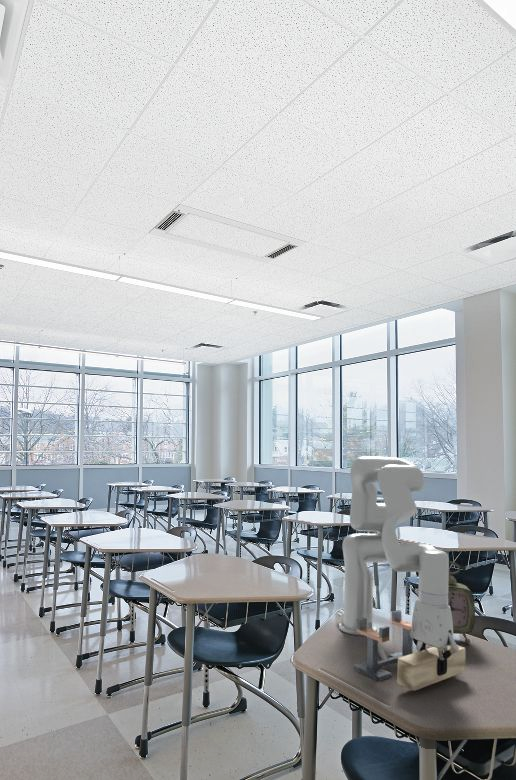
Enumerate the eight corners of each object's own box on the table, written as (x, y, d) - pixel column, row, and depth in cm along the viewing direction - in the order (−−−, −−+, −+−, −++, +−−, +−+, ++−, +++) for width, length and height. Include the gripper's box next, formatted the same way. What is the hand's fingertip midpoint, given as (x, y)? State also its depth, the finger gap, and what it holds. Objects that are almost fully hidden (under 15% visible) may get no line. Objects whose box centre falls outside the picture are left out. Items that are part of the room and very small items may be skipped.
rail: (397, 683, 135) (397, 658, 135) (448, 664, 148) (449, 642, 148) (413, 690, 131) (414, 665, 131) (465, 671, 144) (465, 648, 144)
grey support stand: (353, 669, 147) (354, 619, 149) (400, 655, 159) (400, 609, 161) (378, 681, 140) (379, 629, 142) (425, 665, 152) (426, 617, 153)
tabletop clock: (427, 642, 171) (428, 562, 174) (423, 633, 180) (423, 556, 183) (475, 646, 169) (474, 565, 172) (468, 637, 178) (468, 559, 181)
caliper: (366, 640, 171) (366, 620, 172) (369, 640, 171) (370, 620, 172) (385, 666, 151) (386, 643, 152) (389, 666, 151) (389, 643, 152)
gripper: (398, 591, 146) (396, 661, 144) (453, 609, 132) (452, 686, 130) (415, 588, 150) (414, 656, 148) (470, 604, 136) (470, 679, 135)
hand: (432, 669), depth 139 cm, fingers closed on rail, 5 cm apart
